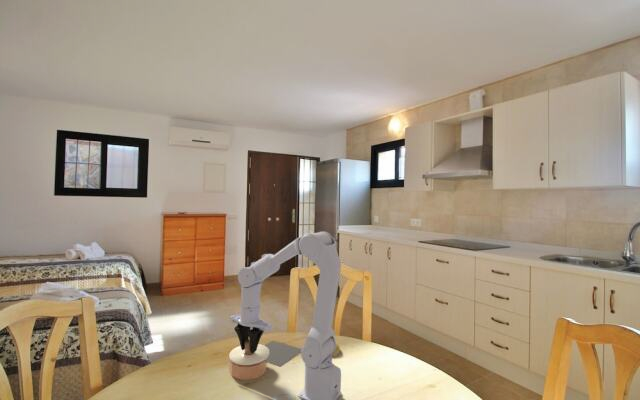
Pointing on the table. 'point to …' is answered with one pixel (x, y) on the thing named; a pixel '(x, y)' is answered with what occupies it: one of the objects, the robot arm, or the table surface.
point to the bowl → (247, 370)
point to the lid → (249, 354)
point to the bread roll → (336, 351)
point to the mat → (281, 353)
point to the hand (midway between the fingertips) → (248, 350)
